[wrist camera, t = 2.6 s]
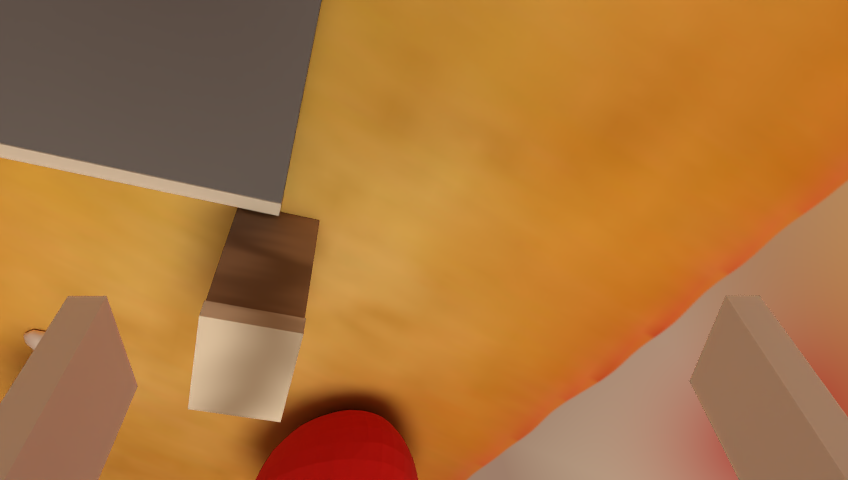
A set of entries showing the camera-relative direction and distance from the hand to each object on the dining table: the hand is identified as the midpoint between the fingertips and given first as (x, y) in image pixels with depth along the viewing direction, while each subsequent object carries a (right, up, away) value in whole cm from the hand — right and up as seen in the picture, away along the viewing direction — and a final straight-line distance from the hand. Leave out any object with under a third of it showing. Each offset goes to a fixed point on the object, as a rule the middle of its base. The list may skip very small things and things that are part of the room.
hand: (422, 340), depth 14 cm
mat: (-15, +11, +15) cm, 24 cm away
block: (-9, +1, +23) cm, 25 cm away
